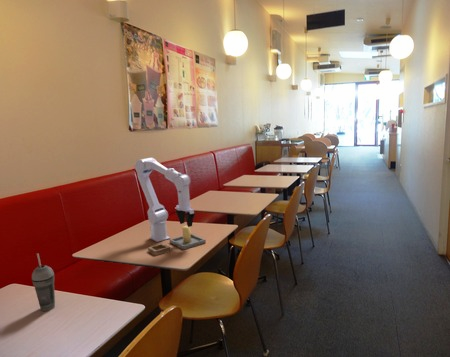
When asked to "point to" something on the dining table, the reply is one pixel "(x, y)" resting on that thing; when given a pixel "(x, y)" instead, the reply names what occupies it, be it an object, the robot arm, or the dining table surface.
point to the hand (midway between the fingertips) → (186, 224)
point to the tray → (194, 242)
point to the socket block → (155, 248)
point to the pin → (186, 234)
